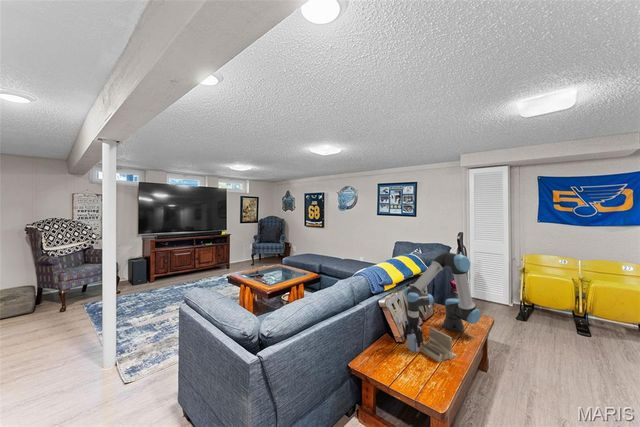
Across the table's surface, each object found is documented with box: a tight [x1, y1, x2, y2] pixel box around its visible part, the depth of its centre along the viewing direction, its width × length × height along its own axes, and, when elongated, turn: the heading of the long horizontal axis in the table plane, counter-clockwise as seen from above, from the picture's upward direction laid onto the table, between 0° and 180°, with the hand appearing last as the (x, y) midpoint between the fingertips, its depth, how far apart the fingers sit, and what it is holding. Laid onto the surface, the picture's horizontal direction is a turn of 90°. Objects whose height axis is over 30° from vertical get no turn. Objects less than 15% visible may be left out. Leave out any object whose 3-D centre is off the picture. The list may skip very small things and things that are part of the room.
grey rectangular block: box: [406, 332, 417, 353], centre depth 178 cm, size 6×6×9 cm
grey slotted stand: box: [421, 327, 458, 363], centre depth 171 cm, size 16×16×14 cm
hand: (413, 348), depth 178 cm, fingers open, 7 cm apart
